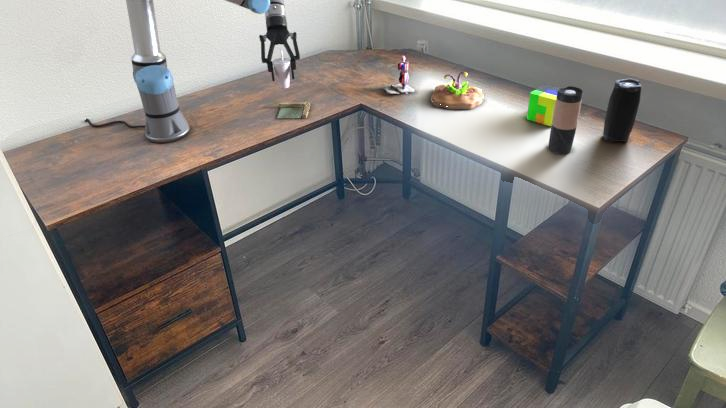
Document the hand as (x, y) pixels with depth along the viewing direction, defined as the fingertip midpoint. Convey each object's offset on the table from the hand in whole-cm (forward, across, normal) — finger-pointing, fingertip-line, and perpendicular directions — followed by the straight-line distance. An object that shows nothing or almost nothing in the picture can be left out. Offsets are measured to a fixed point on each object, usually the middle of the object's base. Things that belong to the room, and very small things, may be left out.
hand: (283, 78), depth 197 cm
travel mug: (+43, +86, -20) cm, 98 cm away
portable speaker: (+41, +107, -18) cm, 116 cm away
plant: (+10, +66, +12) cm, 68 cm away
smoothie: (+1, 0, +6) cm, 6 cm away
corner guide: (+7, +2, +14) cm, 16 cm away
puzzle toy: (+27, +92, -4) cm, 96 cm away
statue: (0, +45, +22) cm, 50 cm away
